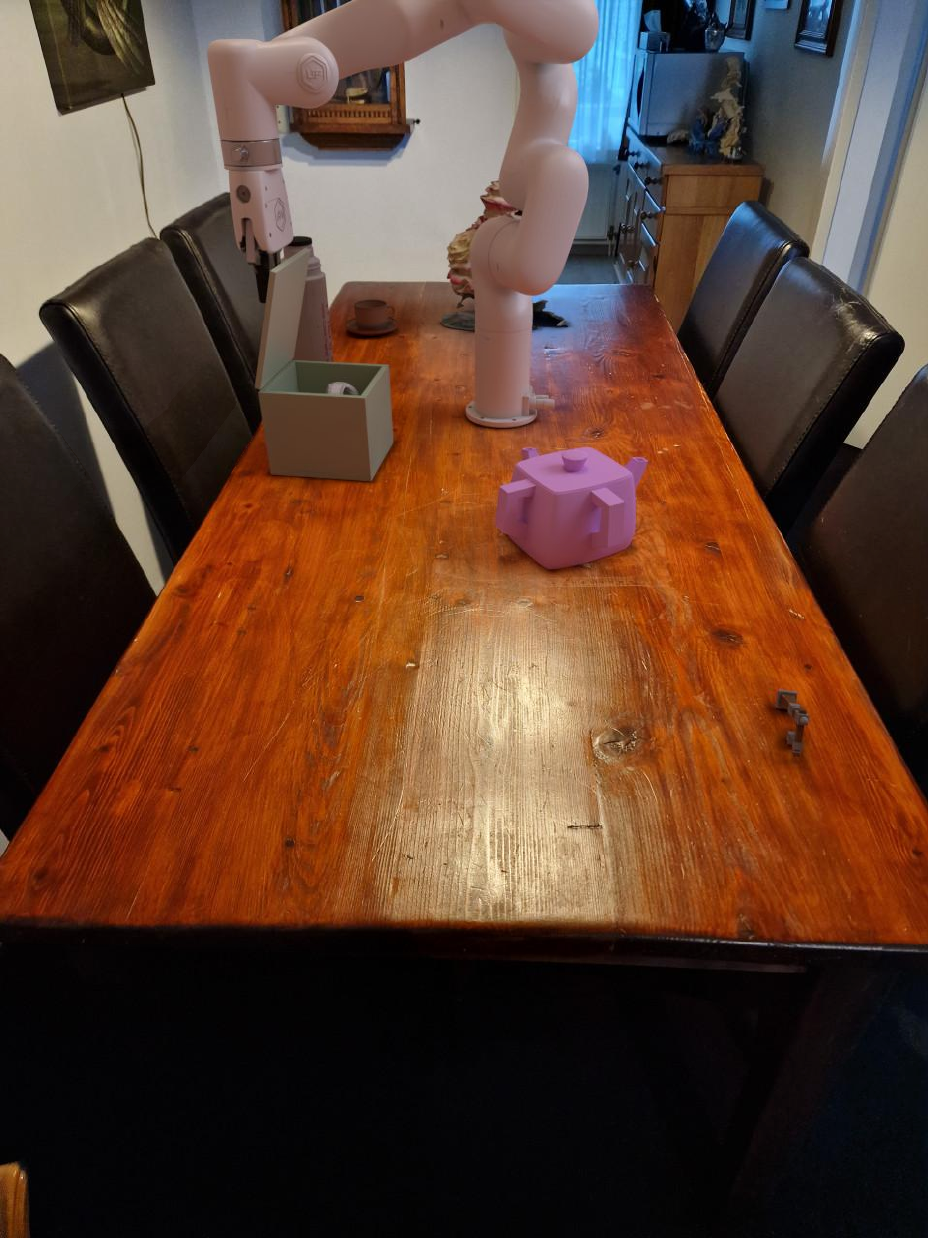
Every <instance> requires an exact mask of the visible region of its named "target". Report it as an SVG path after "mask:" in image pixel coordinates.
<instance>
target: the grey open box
mask: <svg viewBox="0 0 928 1238" xmlns="http://www.w3.org/2000/svg"><path fill="white" fill-rule="evenodd" d="M335 382H342V383H347V384H350V385H351V386H353V387H354V388H355V389H356V390H357V392H358V396H357V395H339V394H324V393H326V389H327V387H328V385H329V384H332V383H335ZM257 394H258V400H259V406H260V414H261V421H262V427H263V433H264V439H265V446H266V453H267V459H268V467H269V472H270V475H272V476H285V477H301V478H316V479H328V480H329V479H330V480H342V481H343V480H345V481H357V482H358V481H360V482H372V481H373V479H374V477H375V476H376V475H377V472H378V471H379V468H380V467H381V465H382V463H383V461H384V460H385V458H386V456H387V454H388V453H389V451H390V450H391V448H392V446H393V444H394V427H393V411H392V410H393V409H392V392H391V375H390V364H383V363H362V362H344V361H334V362H324V361H304V360H291V361H290V362H289V363H287V364H286V365H285V366H284V367H283V368H282V369H281V370H280V371H279V372H278V373H277V374H276V375H275V376H274V377H273V378H272V379H271V380H270V381H269V382H268V383H267V384H266V385H265V386H264V387H263V388H262V389H259V390H258V392H257Z"/></svg>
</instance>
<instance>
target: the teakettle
mask: <svg viewBox="0 0 928 1238" xmlns="http://www.w3.org/2000/svg"><path fill="white" fill-rule="evenodd" d="M520 451H521V457H522V460H521V461H519V462H517V463H516V464H515V465H514V468H513V471H512V474H511V478H510V482H509V483H506V484H502V485H499V487H498V493H497V494H498V495H497V502H496V510H495V518H494V519H495V520H494V526H495V527H496V528H497V529H498V530H499V531H500V532H501V533H503V534H505V535H508V537H509V539H510V540H512V542H513V543H514V544H516V545H517V546H518V547H519V549H520V550H522V551H523V552H524V553H525V554H526V555H528V556H529V557H530V558H531V559H533V560H534V561H536V563H537V564H539V565H540V566H541V567H543V568H545V569H547V570H558V569H559V570H560V569H563V568H569V567H574V566H579V565H584V564H587V563H591V562H595V561H598V560H600V559H604V558H607V557H609V556H613V555H615V554H617V553H620V552H622V551H624V550H626V549H628V548H629V546H630V545H631V544H632V540H633V538H634V536H635V533H636V525H637V495H636V489H637V488H638V486H639V483H640V481H641V480H642V477H643V474H644V472H645V470H646V468H647V466H648V464H649V460H647V459H646V458H644V457H642V456H641V457H640V456H639V457H638V456H637V457H630V460H629V461H628V462H627V463H626V465H624V466H623V465H622V464H620V463H619V462H617V461H616V460H614V459H612V458H611V457H609V456H608V455H606V454H604V453H602V452H601V451H599V450H597V449H595V448H593V447H591V446H582V447H574V448H568V449H565V450H559V451H554V452H549V453H546V454H542V455H540V453H539V452H538V448H536V447H531V446H527V447H522V448H521V449H520Z"/></svg>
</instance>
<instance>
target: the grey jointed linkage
mask: <svg viewBox="0 0 928 1238" xmlns="http://www.w3.org/2000/svg"><path fill="white" fill-rule="evenodd" d="M797 698H798V691H793V690H787V689H786V690H785V689H777V694H776V701H775V706H774V707H775V708H777V709H785V710H787V714H788V715H789V717H790V718H793V721H794V722H795V731H793V730H787V731H786V734H785V735H786V736H785V741H787V742H786V743H787V745H788V746H789V745H790V746H791V748H792V749H791V750H792V751H791V756H792V757H793V758H801V753H802V750H803V745H804V742H803V738H804V733H805V732H804V731H805V726H809V722H810V714H808V713H807V711H808V710H807V709H806V708H805V707H802V706H801V705H800V703H797Z"/></svg>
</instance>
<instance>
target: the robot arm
mask: <svg viewBox="0 0 928 1238" xmlns="http://www.w3.org/2000/svg"><path fill="white" fill-rule="evenodd" d="M493 24H495V25H498V26H499V27H501V28H502V32H503V38H504V41H505V44H506V46H507V49H508V51H509V53H510V55H511V57H512V59H513V61H514V63H515V66H516V69H517V72H518V77H519V86H520V88H519V89H520V90H519V91H520V93H519V100H518V105H517V110H516V113H515V118H514V121H513V125H512V129H511V132H510V135H509V139H508V141H507V144H506V145H507V146H506V149H505V152H504V156H503V160H502V163H501V166H500V170H499V174H498V180H497V181H498V186H499V191H500V194H501V196H502V198H503V199H504V200H505V201H506V202H507V203H508V204H509V205H511V206H513V207H514V208H517V209H519V210H522V211H523V213H522V216H521V220H518V219H514V218H511V217H504V216H500V217H494V218H491V219H489V220H487V221H485V222H484V223H482V224H481V225H480V226H479V228H478V229H477V230H476V232H475V234H474V236H473V239H472V242H471V247H470V264H471V271H472V278H473V285H474V295H475V299H474V311H475V331H474V400H471V402H470V403H468V404H467V405H466V406H465V417H466V418H467V419H468V420H469V422H472V423H474V424H477V425H479V426H482V427H489V428H498V429H503V428H504V429H507V428H517V427H521V426H525V425H528V424H529V423H531V422H533V421H534V420H536V418H537V416H538V410H544V411H555V400H556V399H555V398H549V397H550V396H549V394H536V392H533V385H531V384H530V383H531V382H530V381H531V363H532V362H531V361H532V360H531V359H532V338H533V337H532V335H533V330H532V325H533V319H534V318H533V304H532V303H533V297H536V296H540V295H543V294H545V293H547V292H548V291H549V290H550V289H552V288H553V287H554V285H556V283H557V282H558V280H559V278H560V277H561V275H562V273H563V270H564V268H565V266H566V263H567V260H568V257H569V254H570V252H571V248H572V246H573V243H574V239H575V237H576V234H577V232H578V228H579V225H580V222H581V219H582V216H583V213H584V209H585V208H586V203H587V199H588V195H589V186H590V185H589V182H590V181H589V171H588V167H587V165H586V162H585V160H584V158H583V157H582V156H581V154H580V153H579V152H577V151H576V150H575V149H574V148H572V147H570V146H568V143H569V140H570V136H571V133H572V129H573V125H574V122H575V118H576V113H577V108H578V99H579V98H578V97H579V94H578V92H579V91H578V83H577V77H576V73H575V69H574V64H573V63H576V62H578V61H580V60H582V59H583V58H585V57H586V56H587V54H589V52H590V51H591V50H592V48H593V47H594V45H595V43H596V41H597V38H598V34H599V27H600V17H599V11H598V6H597V5H596V2H595V0H350V1H348V2H346V3H344V4H342V5H339V6H338V7H335V8H333V9H331V10H329V11H326V12H323V13H322V14H320V15H318V16H316V17H313V18H312V19H309V20H308V21H305V22H303V23H301V24H300V25H297V26H295V27H293V28H292V29H289V30H287V31H285V32H284V33H281V34H279V35H277V36H275V37H274V38H272V39H271V40H270V41H261V40H259V39H255V38H221V39H220V38H219V39H215V40H213V41H210V43H209V44H208V46H207V50H206V57H207V65H208V72H209V77H210V83H211V84H210V85H211V89H212V97H213V103H214V110H215V115H216V122H217V123H216V124H217V131H218V136H219V139H220V140H219V142H220V143H219V144H220V148H221V149H220V150H221V156H222V162H223V168H224V170H226V171H228V184H229V197H230V207H231V216H232V225H233V231H234V236H235V237H234V238H235V242H236V246H237V249H238V250H239V251H240V252H241V253H243V254H246V263H247V265H248V266H252V269H253V274H254V275H255V281H256V288H257V294H258V301H259V303H260V304H266V298H267V290H268V282H269V275H270V270H272V269H273V268H275V267H276V266H278V265H280V264H281V259H282V258H281V252H283V248H284V247H285V246H287V245H288V244H290V243H291V242H292V240H293V236H294V229H293V222H292V217H291V210H290V209H291V208H290V203H289V197H288V191H287V187H286V182H285V177H284V173H283V170H282V168H283V167H284V164H283V155H282V148H281V147H282V146H281V140H280V131H279V130H280V129H279V123H278V122H279V121H278V114H277V113H278V112H277V106H286V107H295V108H301V109H315V108H319V107H322V106H324V105H326V104H327V103H328V102H329V101H330V100H331V99H332V98H333V97H334V95H335V93H336V91H337V88H338V86H339V81H341V80H343V79H345V78H348V77H350V76H354V75H356V74H358V73H359V74H360V73H362V72H365V71H370V70H374V69H382V68H389V67H393V66H396V65H400V64H403V63H406V62H409V61H411V60H413V59H415V58H417V57H420V56H422V55H423V54H424V53H427V52H428V51H430V50H432V49H434V48H436V47H437V46H439V45H441V44H444V43H445V42H447V41H449V40H451V39H453V38H457V37H458V36H460V35H462V34H464V33H465V32H467V31H470V30H471V29H473V28H476V27H478V26H481V25H493Z"/></svg>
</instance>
